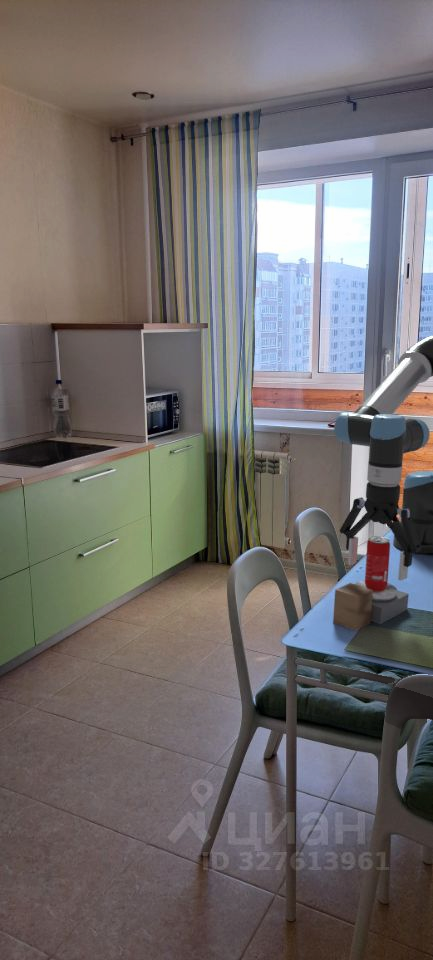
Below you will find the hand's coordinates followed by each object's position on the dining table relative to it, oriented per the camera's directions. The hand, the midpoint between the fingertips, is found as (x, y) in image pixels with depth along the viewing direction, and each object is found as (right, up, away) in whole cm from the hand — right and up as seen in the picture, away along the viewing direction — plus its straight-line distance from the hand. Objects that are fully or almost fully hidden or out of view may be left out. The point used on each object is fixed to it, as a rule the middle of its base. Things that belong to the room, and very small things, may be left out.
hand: (376, 571), depth 164 cm
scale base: (0, -9, +2) cm, 10 cm away
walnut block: (-7, -11, -5) cm, 14 cm away
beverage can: (0, -4, +1) cm, 4 cm away
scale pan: (0, -6, +1) cm, 6 cm away
